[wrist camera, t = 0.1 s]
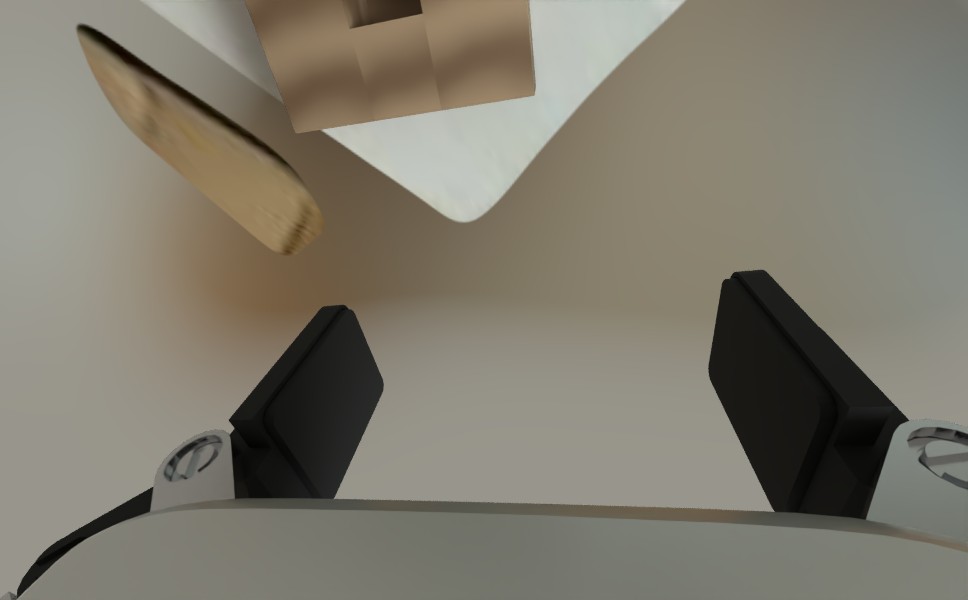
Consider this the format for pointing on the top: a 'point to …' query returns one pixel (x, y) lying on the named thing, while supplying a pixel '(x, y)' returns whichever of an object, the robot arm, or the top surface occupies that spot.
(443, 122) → the top surface
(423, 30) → the socket block
